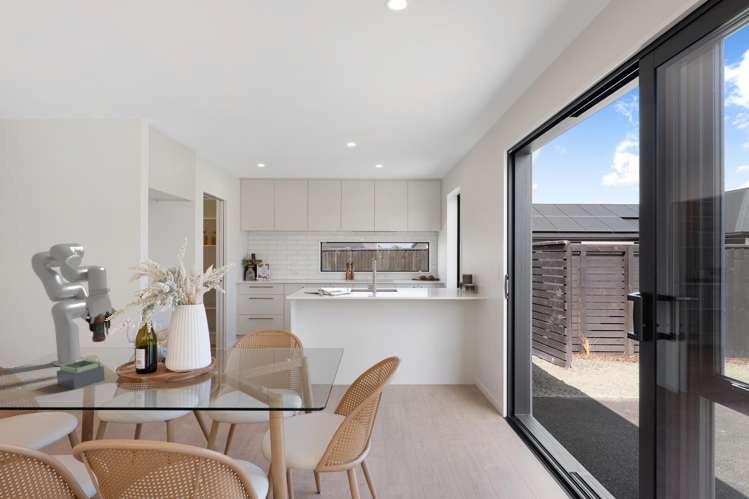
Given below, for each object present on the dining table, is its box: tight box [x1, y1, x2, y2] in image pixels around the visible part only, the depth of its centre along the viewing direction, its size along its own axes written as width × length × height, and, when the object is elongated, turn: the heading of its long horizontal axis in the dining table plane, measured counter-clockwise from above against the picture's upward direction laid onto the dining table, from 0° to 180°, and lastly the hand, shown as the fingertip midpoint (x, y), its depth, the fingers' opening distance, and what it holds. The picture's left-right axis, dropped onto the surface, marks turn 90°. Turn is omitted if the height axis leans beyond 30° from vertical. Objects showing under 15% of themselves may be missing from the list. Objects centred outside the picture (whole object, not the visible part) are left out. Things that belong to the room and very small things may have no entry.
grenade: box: [91, 311, 110, 343], centre depth 201 cm, size 6×8×15 cm
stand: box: [56, 359, 106, 390], centre depth 183 cm, size 14×12×8 cm
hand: (100, 329), depth 201 cm, fingers closed on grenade, 6 cm apart
